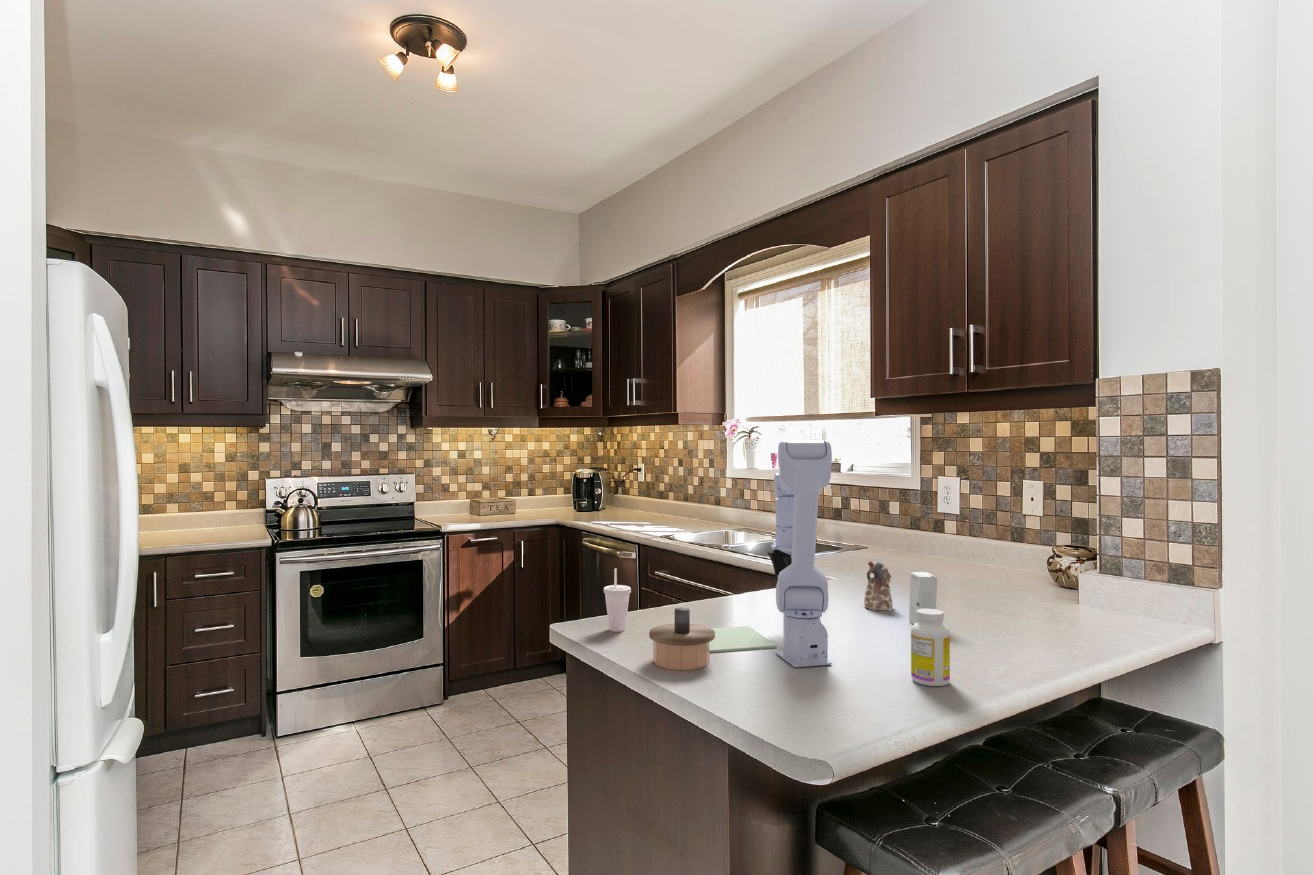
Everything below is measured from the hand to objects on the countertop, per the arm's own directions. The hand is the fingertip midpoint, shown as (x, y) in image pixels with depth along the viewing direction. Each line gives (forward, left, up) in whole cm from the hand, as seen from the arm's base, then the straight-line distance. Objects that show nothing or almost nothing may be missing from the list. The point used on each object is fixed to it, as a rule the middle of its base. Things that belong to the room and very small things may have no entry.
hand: (788, 585), depth 167 cm
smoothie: (+10, +38, -11) cm, 41 cm away
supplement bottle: (-38, -11, -11) cm, 41 cm away
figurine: (+15, -32, -11) cm, 37 cm away
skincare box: (-3, -33, -11) cm, 35 cm away
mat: (-4, +16, -10) cm, 19 cm away
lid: (-16, +30, -5) cm, 34 cm away
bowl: (-16, +30, -10) cm, 36 cm away
